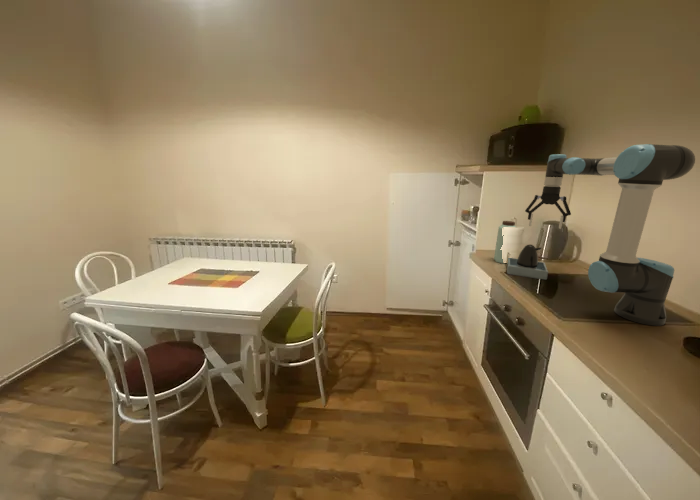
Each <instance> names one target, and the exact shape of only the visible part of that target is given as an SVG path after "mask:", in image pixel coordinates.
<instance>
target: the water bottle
mask: <svg viewBox="0 0 700 500" xmlns="http://www.w3.org/2000/svg"><path fill="white" fill-rule="evenodd" d="M503 227H516V222H515V221H511V220H502V224H501V225H500V226H498V229H497V236H496V242H495V243H496V244H495V249H494V255H493V260H494V261H495V262H496V263H499V264H504V263H503V259H502V250H500V249H501V247H502V245H503V236H504V235H503V236H502V228H503Z"/></svg>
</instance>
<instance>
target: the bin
mask: <svg viewBox="0 0 700 500" xmlns="http://www.w3.org/2000/svg"><path fill="white" fill-rule="evenodd" d="M517 260H518V258H513V257H512V258H508V263H507V264H506V270H507V271H506V274H508V275H512V276H519V277H524V278H525V277H526V278H531V279H538V280H544V281H546V280H547V279H548V274H549V270H548V268H547V265H546V262H542V261H538V266H537V267H536V269H528V268H521V267H518V266H517Z"/></svg>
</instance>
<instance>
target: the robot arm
mask: <svg viewBox="0 0 700 500" xmlns="http://www.w3.org/2000/svg"><path fill="white" fill-rule="evenodd" d="M546 164H547V165H546V171H545V178H544V182H543V185H544V186H543V187H542V194H541V195H538V194H535V195H534V197H533V200H532V201H531V202H530V203H529V205H528V206H527V207H526V209H525V211H524V212H526V213H527V215H528V216H527V220H528V221H529V223H528V227H531V226H532V223H533V222H532V221H533V216H534V212H535V211H536V210H538V209H539V208H540V207H542V205H555V206H556V207H557V209H558V211H559V212H560V213H561V214H562V215H560V218H559V219H560V220H559V224H558V229H560V230H562V226H563V223H565V222H566V220H567V219H566V218H567V216H571V215H572V213H571V210H570V208H569V204H568V202H567V196H560V195H561V194H560V193H561V188H562V187H561V186H562V182H563V178H564V175H570V176H571V175H572V176H574V175H580V176H582V175H583V176H615V177H616V178H617V179H618V182H617V184H618V185H619V187H620V189H621V192H620V196H619V199H618V204H617V207H616V212H615V215H614V219H613V223H612V226H611V227H612V228H611V230H610V235H609V238H608V242H607V247H606V249H605V251H604V252H603V253H601V254H600V255H599V257H598V260H596V261H593V262H592V263H591V264H589V267H588V271H587V277H588V279H589V281H590V283H591V285H592V286H593V288H595V289H596V290H598V291H600V292H606V293H624V294H623V295H622V297H621V298H620V299H619V300H618V301H617V302H616V304H615V305H614V309H613V312H614V313H615V314H617V316H619V317H622V318H623V319H625V320H629V321H631V322H634V323H638V324H642V325H647V326H653V327H654V326H655V327H656V326H664V325H665V323H666V321H667V312H666V306H665V302H666V299H667V296H668V293H669V290H670V287H671V284H672V281H673V279H674V275H675V274H674V273H675V268H674V266H673V265H671V264H668V263H665V262H662V261H658V260H653V259H649V258H644V257H637V253H638V249H639V245H640V241H641V239H642V235H643V231H644V227H645V224H646V220H647V217H648V213H649V209H650V206H651V203H652V198H653V196H654V192H655V190H657V189H658V188H660V187H662V186H663V182H664V181H668V180H675V179H678V178H682V177H684V176H685V175H687V174H688V173H690V172H691V170H692V169H693V168H694V166H695V164H696V156H695V153H694V152H693V150H691V149H690V148H688V147H687V146H683V145H679V144H678V145H677V144H671V145H669V144H656V143H655V144H651V143H649V144H648V143H645V144H643V143H642V144H634V145H631V146H629V147H627V148H625V149H624V150H623V151H621V152H620V153H619V154H618V155H617V156H616V157H613V156H612V157H603V158H584V157H582V158H581V157H567V154H564V153H563V154H562V153H561V154H559V153H557V154H556V153H555V154H550V155H549V156H548V161H547V163H546ZM539 199H540V200H541V201H540V202H539V203H537V204H536V202H537V200H539ZM558 201H562V204H563V207H564V209H565V211H564V209H563V208H562V207H561V205H560V204H559V203H558ZM534 204H536V205H535V206H534ZM533 206H534V207H533ZM532 207H533V208H532Z"/></svg>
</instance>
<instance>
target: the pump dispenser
mask: <svg viewBox="0 0 700 500" xmlns="http://www.w3.org/2000/svg"><path fill="white" fill-rule="evenodd" d="M540 250H542V247H536V246H535V245H533V244H526V245H525V246H524V247H523V249H522V250H521V251H520V253H519V255H518V257H517V259H518V260H517V266H518V267H521V268H528V269H536V267H537V266H538V262H539V256H538V251H540Z"/></svg>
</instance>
